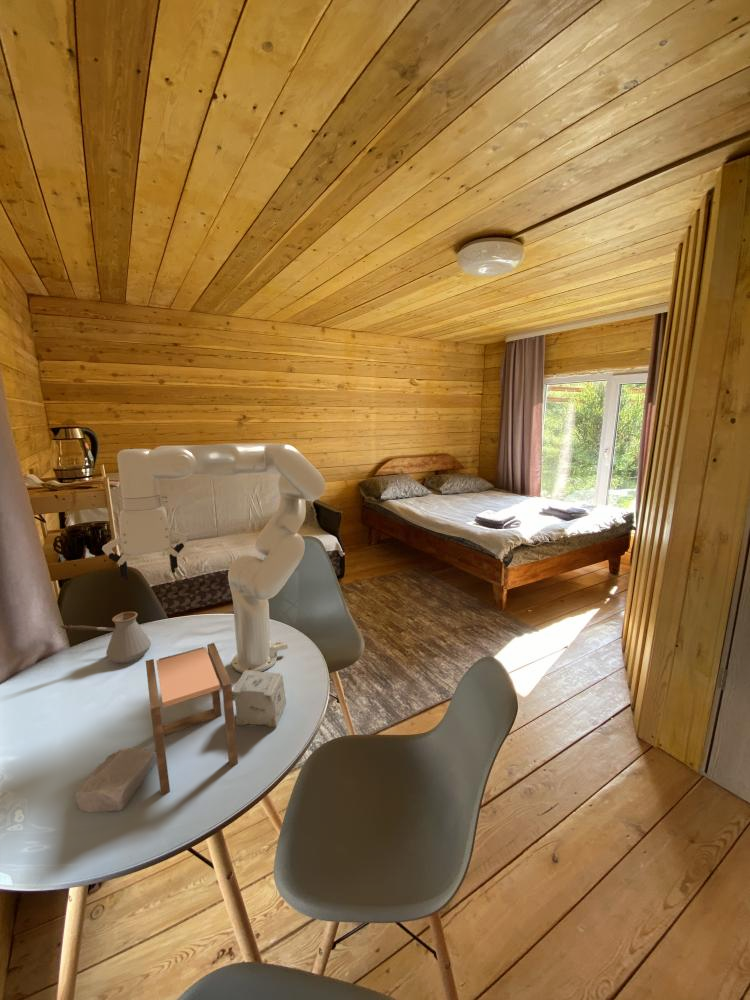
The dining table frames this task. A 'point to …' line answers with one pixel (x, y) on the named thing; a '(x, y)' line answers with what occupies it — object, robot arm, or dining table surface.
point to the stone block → (115, 780)
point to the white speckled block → (259, 698)
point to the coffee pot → (122, 638)
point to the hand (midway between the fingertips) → (150, 575)
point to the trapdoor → (186, 676)
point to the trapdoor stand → (194, 719)
